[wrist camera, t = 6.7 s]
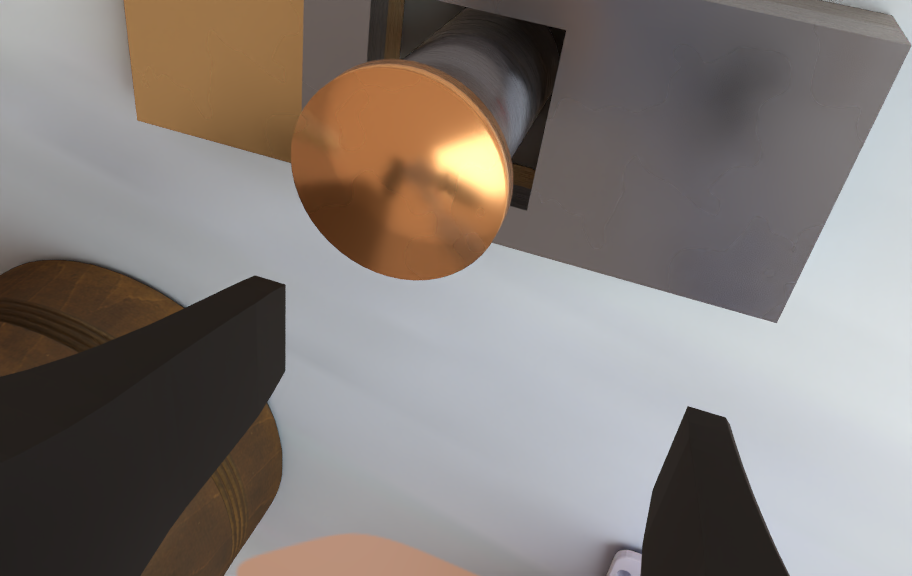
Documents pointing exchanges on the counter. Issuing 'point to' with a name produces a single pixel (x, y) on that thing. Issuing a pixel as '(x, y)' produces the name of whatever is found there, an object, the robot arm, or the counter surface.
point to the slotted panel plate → (587, 120)
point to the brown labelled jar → (106, 318)
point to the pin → (424, 145)
